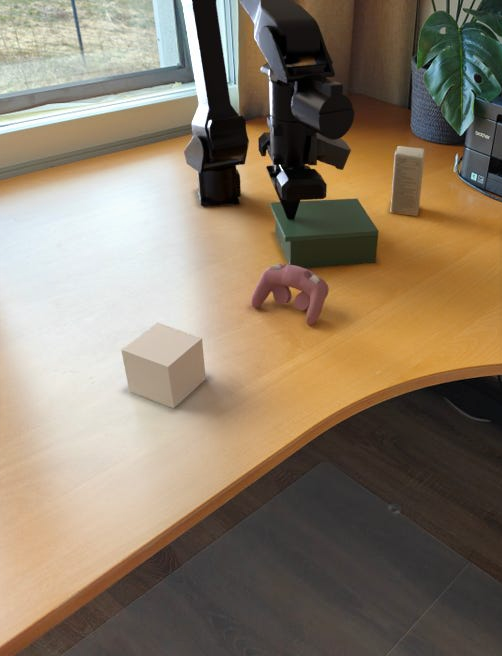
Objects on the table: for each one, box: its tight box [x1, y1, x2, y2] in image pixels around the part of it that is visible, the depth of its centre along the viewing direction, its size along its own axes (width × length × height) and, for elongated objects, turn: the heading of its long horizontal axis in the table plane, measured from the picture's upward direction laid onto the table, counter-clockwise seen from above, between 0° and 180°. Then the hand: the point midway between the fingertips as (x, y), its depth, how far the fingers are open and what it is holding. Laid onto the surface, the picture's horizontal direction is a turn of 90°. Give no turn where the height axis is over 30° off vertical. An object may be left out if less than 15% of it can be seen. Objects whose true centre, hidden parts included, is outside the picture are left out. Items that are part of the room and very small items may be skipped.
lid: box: [269, 198, 380, 242], centre depth 103 cm, size 14×12×1 cm
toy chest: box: [274, 218, 379, 270], centre depth 105 cm, size 14×12×5 cm
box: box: [389, 145, 426, 217], centre depth 118 cm, size 5×4×11 cm
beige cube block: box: [120, 322, 207, 409], centre depth 75 cm, size 6×6×6 cm
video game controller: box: [250, 263, 330, 326], centre depth 90 cm, size 10×5×7 cm, turn 71°
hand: (290, 218), depth 101 cm, fingers closed, pressing on lid
